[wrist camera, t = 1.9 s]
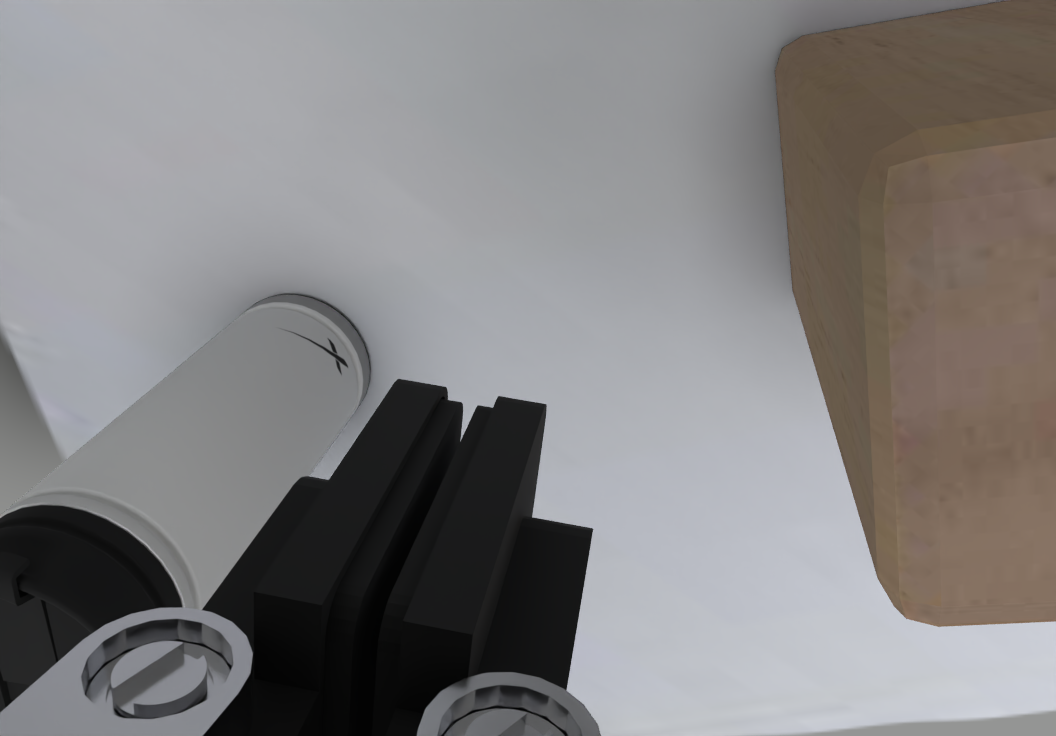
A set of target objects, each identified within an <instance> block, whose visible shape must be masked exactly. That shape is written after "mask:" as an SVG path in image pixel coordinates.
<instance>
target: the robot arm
mask: <svg viewBox="0 0 1056 736" xmlns="http://www.w3.org/2000/svg"><path fill="white" fill-rule="evenodd" d="M462 418H463V404H462V403H461V402H456V401H450V400H448V392H447V388H446V387H442V386H437V385H431V384H425V383H419V382H413V381H408V380H402V379H398V380H397V381H396V382H395V383H394V384H393V386H392V387H391V389H390V390H389V392H388V393H387V395H386V396H385V398H384V399H383V401H382V402H381V404H380V405H379V407H378V408H377V409H376V411H375V412H374V414H373V415H372V417H371V418H370V420H369V421H368V423H367V424H366V426H365V427H364V429H363V430H362V432H361V433H360V435H359V436H358V438H357V439H356V441H355V442H354V444H353V445H352V447H351V448H350V450H349V451H348V453H347V454H346V455H345V457H344V458H343V460H342V461H341V463H340V464H339V466H338V467H337V469H336V470H335V472H334V473H333V475H332V476H331V478H330V479H329V480H325V479H320V478H315V477H309V476H304V477H301V478H300V479H299V480H298V481H297V482H296V483H295V484H294V485H293V486H292V488H291V489H290V490H289V492H288V493H287V494H286V496H285V497H284V498H283V500H282V501H281V502H280V504H279V505H278V507H277V508H276V509H275V511H274V512H273V513H272V515H271V516H270V517H269V519H268V520H267V522H266V523H265V524H264V526H263V527H262V528H261V530H260V531H259V532H258V534H257V535H256V537H255V538H254V539H253V541H252V542H251V543H250V545H249V546H248V547H247V549H246V550H245V552H244V553H243V554H242V556H241V557H240V558H239V560H238V561H237V562H236V564H235V565H234V567H233V568H232V569H231V571H230V572H229V573H228V575H227V576H226V577H225V579H224V580H223V582H222V583H221V584H220V586H219V587H218V588H217V590H216V591H215V592H214V594H213V595H212V597H211V598H210V599H209V601H208V602H207V603H206V605H205V606H204V607H203V609H202V610H198V609H193V608H188V607H180V608H157V609H152V610H147V611H142V612H137V613H132V614H130V615H127V616H125V617H122V618H120V619H117V620H115V621H113V622H110V623H108V624H105V625H104V626H102V627H101V628H99V629H98V630H97V631H95V632H94V633H92V634H91V635H89V636H88V637H86V638H85V639H83V640H82V641H81V642H80V643H79V644H78V645H76V646H75V647H74V648H73V649H72V650H71V651H70V652H68V653H67V654H66V655H65V656H64V657H63V658H62V659H61V660H59V661H58V662H57V663H56V664H55V665H54V666H53V667H51V668H50V669H49V670H48V671H47V672H46V673H45V674H44V675H42V676H41V677H40V678H39V679H38V680H37V681H36V682H34V683H33V684H32V685H31V686H30V687H29V688H28V689H26V690H25V691H24V692H23V693H22V694H21V695H20V696H19V697H17V698H16V699H15V700H14V701H13V702H12V703H11V704H9V705H8V706H7V707H6V708H5V709H4V710H3V711H1V712H0V736H601V734H600V731H599V727H598V724H597V723H596V721H595V720H594V718H593V717H592V716H591V714H590V713H589V711H588V710H587V709H586V707H585V706H584V704H582V703H581V702H580V701H579V700H577V699H576V698H575V697H574V696H572V695H571V694H570V693H569V692H567V691H566V689H567V683H568V677H569V671H570V665H571V659H572V653H573V647H574V641H575V635H576V629H577V623H578V617H579V611H580V605H581V599H582V593H583V587H584V581H585V575H586V569H587V562H588V556H589V550H590V544H591V538H592V532H593V529H592V528H587V527H581V526H576V525H570V524H565V523H559V522H554V521H549V520H543V519H538V518H532V513H533V506H534V499H535V492H536V484H537V477H538V470H539V463H540V455H541V448H542V441H543V434H544V426H545V418H546V404H541V403H535V402H529V401H524V400H518V399H512V398H506V397H500V396H498V398H497V400H496V402H495V405H494V407H493V408H490V407H484V406H477V407H476V409H475V412H474V414H473V416H472V418H471V420H470V422H469V425H468V427H467V429H466V431H465V433H464V435H463V438H462V440H461V442H460V439H461V428H462Z"/></svg>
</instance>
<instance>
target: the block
mask: <svg viewBox="0 0 1056 736" xmlns="http://www.w3.org/2000/svg"><path fill="white" fill-rule="evenodd" d="M775 78H776V90H777V102H778V115H779V127H780V140H781V152H782V164H783V177H784V189H785V202H786V214H787V226H788V239H789V251H790V264H791V276H792V288H793V293H794V297H795V300H796V304H797V307H798V310H799V314H800V317H801V321H802V324H803V327H804V331H805V334H806V337H807V341H808V344H809V348H810V351H811V354H812V358H813V361H814V364H815V368H816V371H817V375H818V378H819V381H820V385H821V388H822V392H823V395H824V398H825V402H826V405H827V408H828V412H829V415H830V419H831V422H832V425H833V429H834V432H835V435H836V439H837V442H838V446H839V449H840V452H841V456H842V459H843V463H844V466H845V469H846V473H847V476H848V479H849V483H850V486H851V490H852V493H853V496H854V500H855V503H856V506H857V510H858V513H859V517H860V520H861V523H862V527H863V530H864V534H865V537H866V540H867V544H868V547H869V550H870V554H871V557H872V561H873V564H874V567H875V571H876V574H877V577H878V580H879V581H880V583H881V585H882V587H883V588H884V590H885V592H886V593H887V595H888V597H889V598H890V600H891V602H892V603H893V605H894V607H895V608H896V609H897V610H898V611H899V612H900V613H901V614H902V615H903V616H904V617H905V618H906V619H910V620H914V621H918V622H922V623H926V624H930V625H934V626H938V627H941V626H963V625H985V624H1007V623H1029V622H1051V621H1056V0H1008V1H1002V2H996V3H990V4H985V5H979V6H973V7H967V8H961V9H955V10H950V11H944V12H938V13H932V14H926V15H920V16H915V17H909V18H903V19H897V20H891V21H886V22H880V23H874V24H868V25H862V26H856V27H851V28H845V29H839V30H833V31H827V32H821V33H816V34H810V35H804V36H802V37H800V38H798V39H797V40H795V41H793V42H792V43H790V44H788V45H787V46H785V47H783V48H782V50H781V53H780V57H779V60H778V63H777V66H776V69H775Z"/></svg>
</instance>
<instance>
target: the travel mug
mask: <svg viewBox="0 0 1056 736" xmlns="http://www.w3.org/2000/svg"><path fill="white" fill-rule="evenodd" d="M369 377H370V367H369V359H368V356H367V352H366V349H365V346H364V344H363V342H362V340H361V339H360V337H359V335H358V333H357V332H356V330H355V329H354V328H353V327H352V325H351V324H350V323H349V322H348V321H347V320H346V319H345V318H344V317H343V316H342V315H341V314H339V313H338V312H337V311H336V310H334V309H333V308H331V307H329V306H328V305H326V304H324V303H322V302H320V301H317V300H315V299H312V298H309V297H304V296H299V295H278V296H273V297H268V298H266V299H264V300H262V301H259V302H257V303H256V304H254V305H253V306H252V307H250V308H249V309H247V310H246V311H245V312H244V313H243V314H241V315H240V316H239V317H238V318H237V319H235V320H234V321H233V322H232V323H231V324H229V325H228V326H227V327H226V328H225V329H223V330H222V331H221V332H220V333H218V334H217V335H216V336H215V337H214V338H212V339H211V340H210V341H209V342H208V343H206V344H205V345H204V346H203V347H202V348H200V349H199V350H198V351H197V352H196V353H194V354H193V355H192V356H191V357H190V358H188V359H187V360H186V361H185V362H184V363H182V364H181V365H180V366H179V367H177V368H176V369H175V370H174V371H173V372H171V373H170V374H169V375H168V376H167V377H165V378H164V379H163V380H162V381H161V382H159V383H158V384H157V385H156V386H155V387H153V388H152V389H151V390H150V391H149V392H147V393H146V394H145V395H144V396H143V397H141V398H140V399H139V400H138V401H136V402H135V403H134V404H133V405H132V406H130V407H129V408H128V409H127V410H126V411H124V412H123V413H122V414H121V415H120V416H118V417H117V418H116V419H115V420H114V421H112V422H111V423H110V424H109V425H108V426H106V427H105V428H104V429H103V430H102V431H100V432H99V433H98V434H97V435H96V436H94V437H93V438H92V439H91V440H89V441H88V442H87V443H86V444H85V445H83V446H82V447H81V448H80V449H79V450H77V451H76V452H75V453H74V454H73V455H71V456H70V457H69V458H68V459H67V460H65V461H64V462H63V463H62V464H61V465H60V466H58V467H57V468H56V469H55V470H53V471H52V472H51V473H50V474H49V475H47V476H46V477H45V478H44V479H43V480H41V481H40V482H39V483H38V484H36V485H35V486H34V487H33V488H32V489H30V490H29V491H28V492H27V493H26V494H24V495H23V496H22V497H21V498H20V499H18V500H17V501H16V502H15V503H14V504H12V505H11V506H10V508H9V509H7V510H6V511H4V512H3V513H2V514H0V712H1V711H3V710H4V709H5V708H6V707H7V706H8V705H9V704H11V703H12V702H13V701H14V700H15V699H16V698H17V697H19V696H20V695H21V694H22V693H23V692H24V691H25V690H26V689H28V688H29V687H30V686H31V685H32V684H33V683H34V682H36V681H37V680H38V679H39V678H40V677H41V676H42V675H44V674H45V673H46V672H47V671H48V670H49V669H50V668H51V667H53V666H54V665H55V664H56V663H57V662H58V661H59V660H61V659H62V658H63V657H64V656H65V655H66V654H67V653H68V652H70V651H71V650H72V649H73V648H74V647H75V646H76V645H78V644H79V643H80V642H81V641H82V640H83V639H85V638H86V637H88V636H89V635H91V634H92V633H94V632H95V631H97V630H98V629H99V628H101V627H102V626H104V625H105V624H108V623H110V622H113V621H115V620H117V619H120V618H122V617H125V616H127V615H130V614H132V613H137V612H142V611H147V610H152V609H157V608H180V607H188V608H193V609H198V610H202V609H203V607H204V606H205V605H206V603H207V602H208V601H209V599H210V598H211V597H212V595H213V594H214V592H215V591H216V590H217V588H218V587H219V586H220V584H221V583H222V582H223V580H224V579H225V577H226V576H227V575H228V573H229V572H230V571H231V569H232V568H233V567H234V565H235V564H236V562H237V561H238V560H239V558H240V557H241V556H242V554H243V553H244V552H245V550H246V549H247V547H248V546H249V545H250V543H251V542H252V541H253V539H254V538H255V537H256V535H257V534H258V532H259V531H260V530H261V528H262V527H263V526H264V524H265V523H266V522H267V520H268V519H269V517H270V516H271V515H272V513H273V512H274V511H275V509H276V508H277V507H278V505H279V504H280V502H281V501H282V500H283V498H284V497H285V496H286V494H287V493H288V492H289V490H290V489H291V488H292V486H293V485H294V484H295V483H296V482H297V481H298V480H299V479H300V478H301V477H304V476H310V474H311V473H312V472H313V470H314V469H315V467H316V466H317V465H318V463H319V462H320V460H321V459H322V458H323V456H324V455H325V453H326V452H327V451H328V449H329V448H330V446H331V445H332V444H333V442H334V441H335V439H336V438H337V437H338V435H339V434H340V432H341V431H342V430H343V428H344V427H345V425H346V424H347V422H348V421H349V419H350V418H351V417H352V416H353V414H354V413H355V411H356V410H357V409H358V407H359V406H360V404H361V402H362V401H363V399H364V397H365V395H366V392H367V389H368V385H369Z"/></svg>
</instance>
